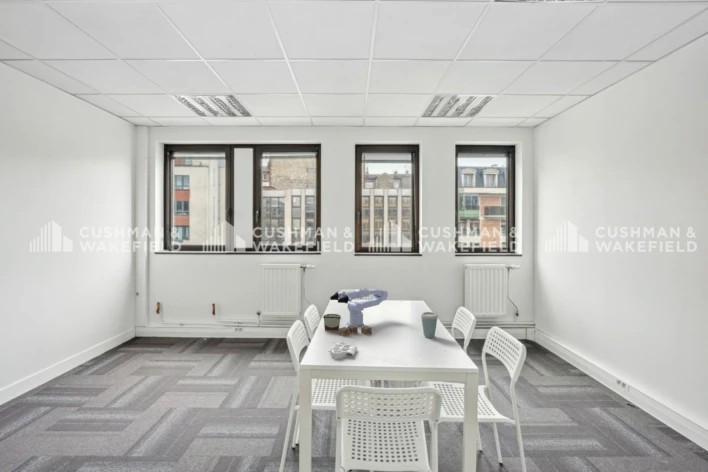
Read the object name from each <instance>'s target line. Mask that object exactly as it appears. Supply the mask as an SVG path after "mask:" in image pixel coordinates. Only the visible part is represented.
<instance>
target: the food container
mask: <svg viewBox="0 0 708 472" xmlns="http://www.w3.org/2000/svg"><path fill="white" fill-rule="evenodd" d="M322 318H323V322H324V323H323V324H324V331H326V332H327V331H329V332H330V331H331V332H339V328H340V323H341V319H342V317H341V315H340V314H337V313H328V314H324V315H323V317H322Z"/></svg>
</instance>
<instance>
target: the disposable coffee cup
mask: <svg viewBox="0 0 708 472" xmlns="http://www.w3.org/2000/svg"><path fill="white" fill-rule="evenodd" d="M420 318H421V324H422V331H423V335H424V336H425V337H424V338H426V339H434V338H435V335H436V329H437V323H438V315H437V313H436V312H432V311H425V312H422V313H421V314H420Z"/></svg>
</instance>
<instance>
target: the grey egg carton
mask: <svg viewBox="0 0 708 472" xmlns="http://www.w3.org/2000/svg"><path fill="white" fill-rule="evenodd" d="M357 350H358V347H357V346H356V345H355V344H348V342H346V341H345V342H344V341H339V342H337V343H335V344H333V345H332V346H331V347H330V350H328V353H330V357H331V358H332V359H334V360H338V359H343V358H353V357H354V356H355V354H356V352H357Z"/></svg>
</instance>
